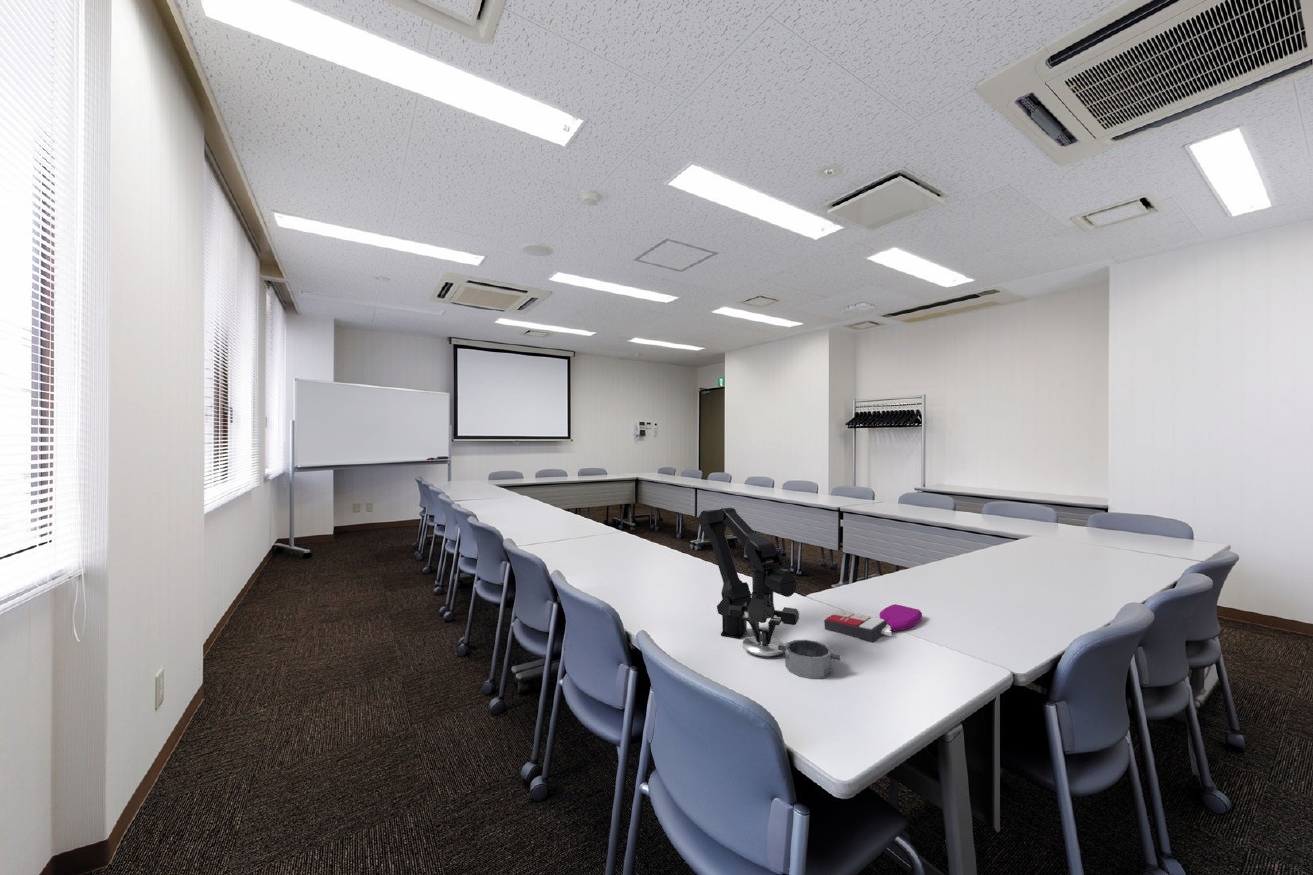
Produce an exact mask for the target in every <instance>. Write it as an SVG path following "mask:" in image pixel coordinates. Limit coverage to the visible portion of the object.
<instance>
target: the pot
mask: <svg viewBox="0 0 1313 875" xmlns="http://www.w3.org/2000/svg"><path fill="white" fill-rule="evenodd" d="M778 650H781V651H784V656H785V660H784V661H785V662H784V663H785V668H786V669H787V670H788V672H789V673H791V674H793V675H795V676H797V677H800V678H805V679H810V680H817V679H818V680H819V679H826V678H827V677H829V676H831V675H832V673H833V660H835V661H840V660H841V655H840V654H835V653H833V650H832V649H831V648H830V646H828V645H827V644H825V643H822V642H820V641H817V640H816V641H815V640H811V639H794V640H791V641H788V642H786V645H785V646H783V645H779V646H778Z"/></svg>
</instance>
